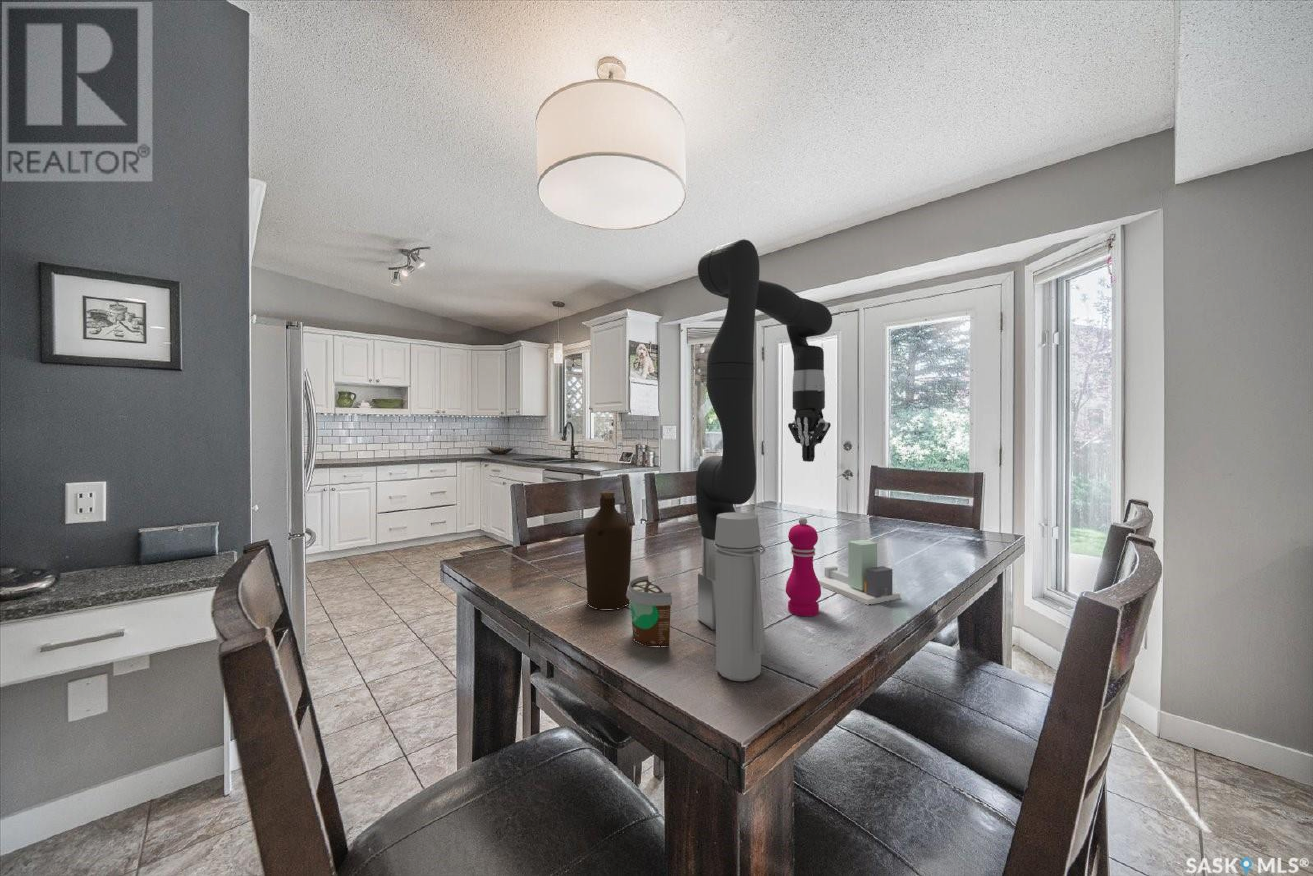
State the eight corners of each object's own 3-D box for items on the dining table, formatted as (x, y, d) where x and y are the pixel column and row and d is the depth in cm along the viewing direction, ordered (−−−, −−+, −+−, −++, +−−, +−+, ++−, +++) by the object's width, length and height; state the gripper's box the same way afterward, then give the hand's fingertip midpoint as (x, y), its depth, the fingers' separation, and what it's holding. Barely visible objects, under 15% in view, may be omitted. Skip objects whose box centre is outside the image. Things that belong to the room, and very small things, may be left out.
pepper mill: (825, 617, 102) (825, 520, 102) (790, 617, 102) (789, 520, 102) (815, 605, 109) (815, 514, 109) (782, 605, 109) (781, 514, 109)
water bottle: (704, 669, 80) (703, 514, 80) (741, 657, 84) (740, 510, 84) (743, 695, 72) (742, 523, 72) (782, 680, 76) (781, 518, 76)
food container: (618, 629, 97) (617, 578, 97) (647, 624, 99) (647, 574, 99) (639, 656, 85) (639, 597, 85) (672, 649, 88) (672, 593, 87)
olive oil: (638, 608, 108) (636, 493, 108) (589, 614, 105) (588, 495, 104) (625, 593, 118) (624, 488, 118) (580, 598, 115) (579, 490, 114)
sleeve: (861, 590, 114) (861, 545, 113) (848, 585, 117) (848, 541, 117) (877, 587, 116) (877, 543, 115) (863, 583, 119) (863, 539, 119)
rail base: (867, 605, 109) (867, 573, 109) (813, 583, 124) (813, 555, 124) (900, 598, 113) (900, 567, 113) (844, 578, 128) (844, 551, 128)
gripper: (778, 391, 125) (778, 460, 126) (815, 387, 113) (815, 463, 113) (802, 392, 128) (802, 459, 129) (840, 388, 116) (840, 462, 117)
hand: (808, 461), depth 121 cm, fingers closed
